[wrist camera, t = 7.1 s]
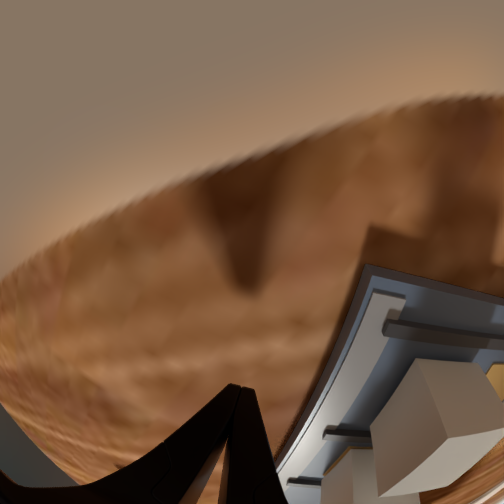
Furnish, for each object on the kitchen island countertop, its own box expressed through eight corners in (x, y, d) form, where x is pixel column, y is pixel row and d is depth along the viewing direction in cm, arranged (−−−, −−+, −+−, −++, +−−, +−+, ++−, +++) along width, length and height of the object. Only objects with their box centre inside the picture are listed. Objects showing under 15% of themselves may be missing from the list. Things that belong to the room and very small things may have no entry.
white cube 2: (409, 448, 10) (420, 504, 6) (374, 480, 11) (377, 528, 7) (350, 448, 10) (353, 513, 6) (321, 479, 11) (318, 532, 8)
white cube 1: (477, 362, 8) (514, 424, 4) (430, 425, 9) (447, 486, 5) (415, 357, 8) (448, 438, 4) (369, 426, 9) (377, 497, 6)
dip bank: (553, 311, 7) (566, 323, 6) (390, 501, 14) (391, 512, 13) (365, 263, 9) (375, 280, 7) (252, 497, 16) (249, 510, 14)
